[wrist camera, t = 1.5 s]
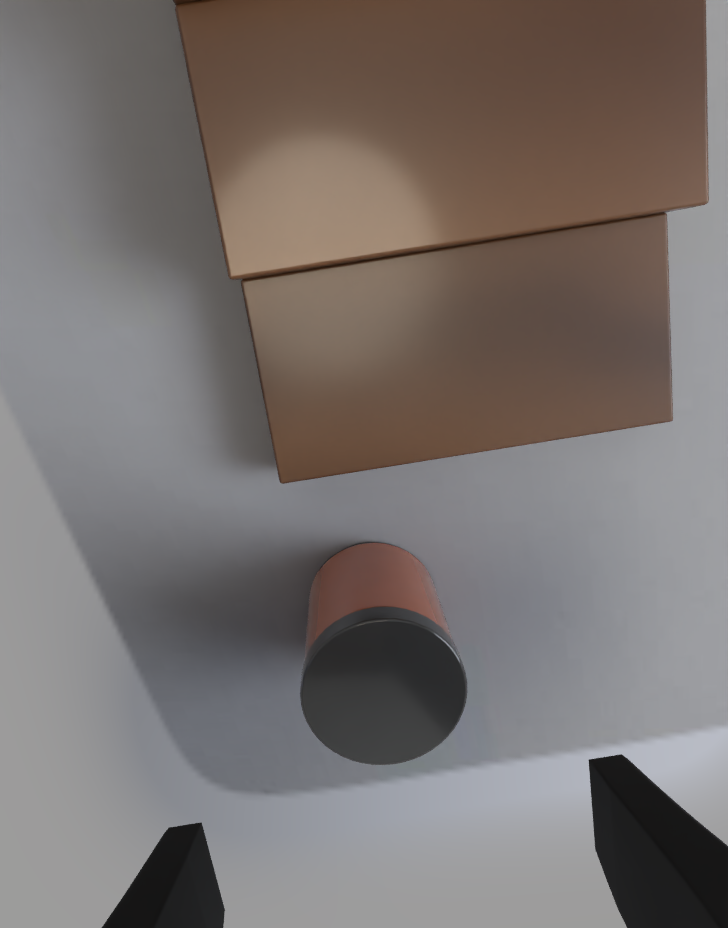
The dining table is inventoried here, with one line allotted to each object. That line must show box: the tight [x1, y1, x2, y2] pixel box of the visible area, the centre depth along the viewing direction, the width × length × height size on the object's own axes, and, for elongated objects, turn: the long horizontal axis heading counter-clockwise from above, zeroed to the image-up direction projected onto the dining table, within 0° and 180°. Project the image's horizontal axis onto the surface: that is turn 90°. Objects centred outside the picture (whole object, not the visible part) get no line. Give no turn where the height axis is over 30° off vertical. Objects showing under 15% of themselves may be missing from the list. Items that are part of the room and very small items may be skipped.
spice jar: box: [300, 543, 467, 765], centre depth 19 cm, size 4×4×5 cm
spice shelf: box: [173, 0, 709, 483], centre depth 15 cm, size 16×11×6 cm, turn 9°
